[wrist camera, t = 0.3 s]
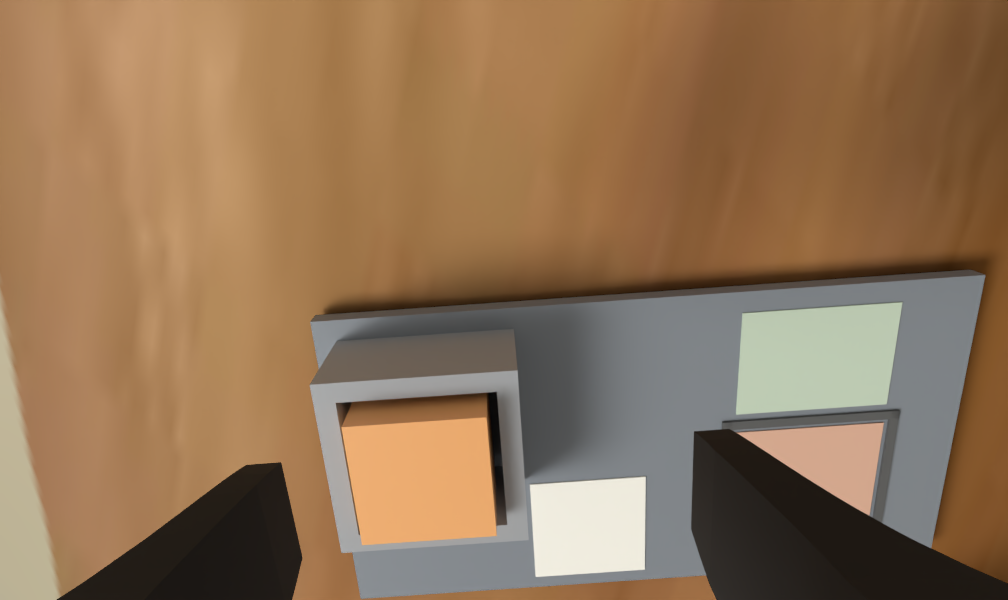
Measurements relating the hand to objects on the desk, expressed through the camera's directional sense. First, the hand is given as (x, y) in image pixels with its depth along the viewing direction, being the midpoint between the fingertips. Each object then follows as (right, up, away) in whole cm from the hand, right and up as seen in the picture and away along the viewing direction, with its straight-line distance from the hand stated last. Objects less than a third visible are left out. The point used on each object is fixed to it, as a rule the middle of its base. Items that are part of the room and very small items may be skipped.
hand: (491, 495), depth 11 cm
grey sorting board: (+5, -2, +11) cm, 12 cm away
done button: (-2, -1, +8) cm, 9 cm away
